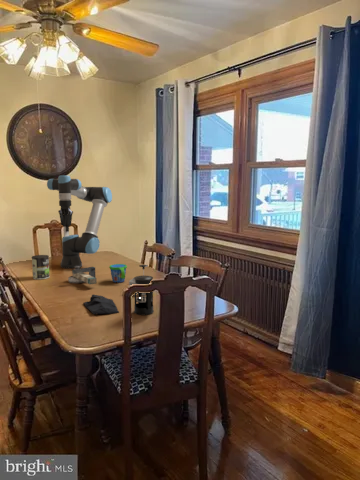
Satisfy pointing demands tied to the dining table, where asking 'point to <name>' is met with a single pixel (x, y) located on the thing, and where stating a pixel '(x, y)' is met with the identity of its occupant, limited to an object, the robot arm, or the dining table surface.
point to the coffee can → (40, 266)
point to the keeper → (81, 270)
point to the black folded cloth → (101, 305)
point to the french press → (146, 301)
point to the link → (84, 277)
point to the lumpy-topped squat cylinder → (134, 283)
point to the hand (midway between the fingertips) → (66, 236)
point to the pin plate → (74, 280)
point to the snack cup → (118, 272)
